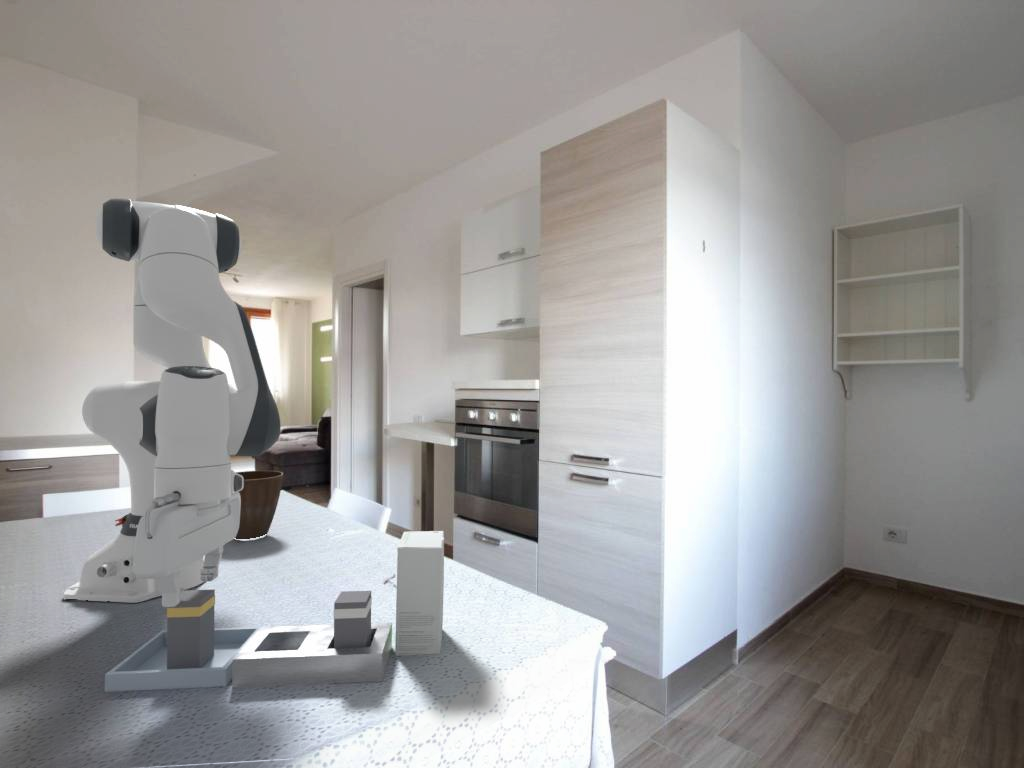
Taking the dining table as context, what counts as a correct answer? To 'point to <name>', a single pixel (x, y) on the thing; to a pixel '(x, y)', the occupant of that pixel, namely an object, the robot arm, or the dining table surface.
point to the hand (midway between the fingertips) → (192, 591)
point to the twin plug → (352, 619)
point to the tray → (152, 673)
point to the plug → (191, 630)
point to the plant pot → (258, 502)
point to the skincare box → (419, 593)
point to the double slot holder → (309, 657)
